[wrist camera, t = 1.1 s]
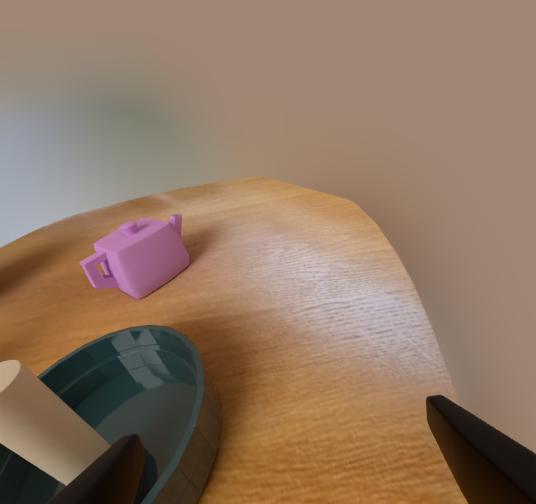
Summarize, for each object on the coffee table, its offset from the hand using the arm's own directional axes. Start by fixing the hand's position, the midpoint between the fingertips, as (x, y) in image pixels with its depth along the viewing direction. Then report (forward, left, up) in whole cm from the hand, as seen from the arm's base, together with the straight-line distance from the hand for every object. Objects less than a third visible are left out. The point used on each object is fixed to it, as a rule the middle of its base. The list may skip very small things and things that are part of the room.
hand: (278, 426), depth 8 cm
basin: (+2, +18, -16) cm, 24 cm away
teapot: (+26, +33, -16) cm, 45 cm away
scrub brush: (-1, +15, -15) cm, 21 cm away
